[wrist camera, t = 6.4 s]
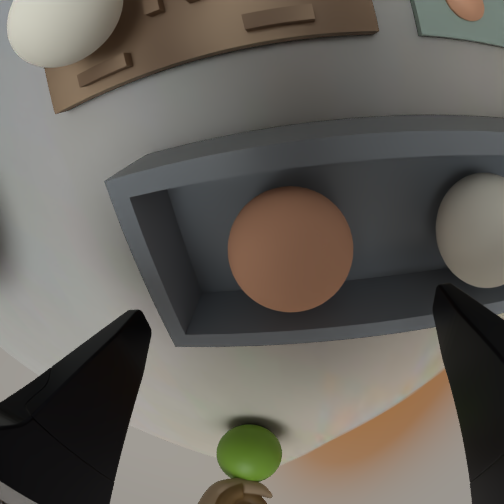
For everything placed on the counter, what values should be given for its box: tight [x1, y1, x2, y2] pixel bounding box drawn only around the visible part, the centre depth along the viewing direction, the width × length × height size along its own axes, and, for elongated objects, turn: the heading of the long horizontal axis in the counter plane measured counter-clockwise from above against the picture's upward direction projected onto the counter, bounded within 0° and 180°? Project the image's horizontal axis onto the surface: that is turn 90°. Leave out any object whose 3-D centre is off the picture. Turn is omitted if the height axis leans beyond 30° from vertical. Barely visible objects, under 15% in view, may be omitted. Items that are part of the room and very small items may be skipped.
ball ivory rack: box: [7, 0, 123, 68], centre depth 7 cm, size 4×4×4 cm
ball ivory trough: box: [436, 173, 504, 288], centre depth 10 cm, size 4×4×4 cm
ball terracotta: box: [228, 186, 353, 312], centre depth 11 cm, size 4×4×4 cm
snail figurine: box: [198, 424, 282, 504], centre depth 19 cm, size 5×6×12 cm
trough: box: [105, 115, 504, 347], centre depth 11 cm, size 18×8×4 cm, turn 102°
